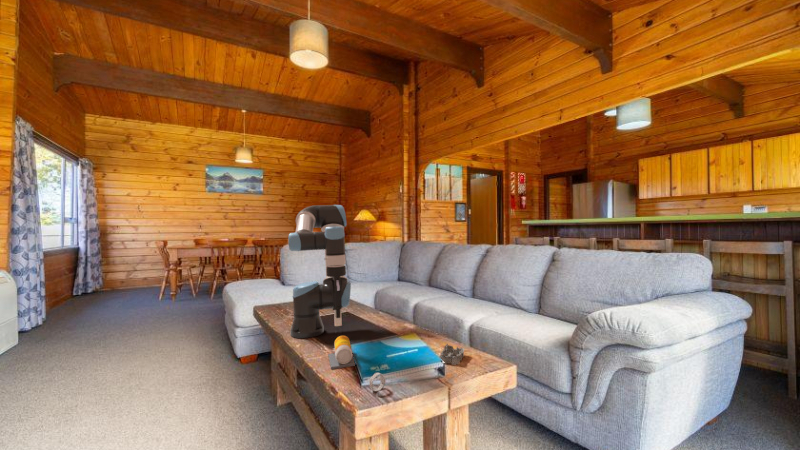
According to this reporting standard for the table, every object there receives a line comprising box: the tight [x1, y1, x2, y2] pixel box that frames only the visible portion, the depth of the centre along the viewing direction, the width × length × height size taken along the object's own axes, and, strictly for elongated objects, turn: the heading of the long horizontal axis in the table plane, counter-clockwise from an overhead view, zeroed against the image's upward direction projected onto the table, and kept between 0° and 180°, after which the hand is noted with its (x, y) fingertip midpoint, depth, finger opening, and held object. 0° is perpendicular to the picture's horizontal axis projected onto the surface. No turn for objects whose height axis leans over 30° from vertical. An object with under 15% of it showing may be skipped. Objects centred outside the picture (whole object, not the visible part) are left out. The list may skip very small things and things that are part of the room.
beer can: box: [333, 335, 354, 364], centre depth 134 cm, size 6×6×15 cm
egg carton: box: [439, 343, 465, 366], centre depth 131 cm, size 11×8×4 cm
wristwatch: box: [368, 372, 387, 392], centre depth 109 cm, size 3×5×5 cm, turn 134°
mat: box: [327, 352, 356, 370], centre depth 133 cm, size 13×9×1 cm
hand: (338, 325), depth 141 cm, fingers closed
